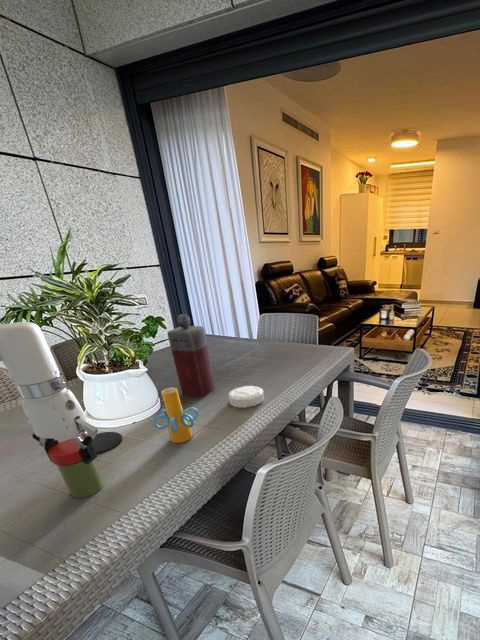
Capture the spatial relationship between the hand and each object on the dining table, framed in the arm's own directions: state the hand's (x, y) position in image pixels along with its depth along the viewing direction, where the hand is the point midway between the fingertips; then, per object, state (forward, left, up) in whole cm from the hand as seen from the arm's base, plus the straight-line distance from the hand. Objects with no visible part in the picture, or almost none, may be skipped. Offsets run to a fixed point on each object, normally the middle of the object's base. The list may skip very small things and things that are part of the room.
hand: (74, 459), depth 79 cm
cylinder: (+6, +26, -9) cm, 28 cm away
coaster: (-15, +16, -8) cm, 24 cm away
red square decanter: (-12, +56, -9) cm, 58 cm away
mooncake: (+11, +54, -9) cm, 56 cm away
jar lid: (0, 0, +3) cm, 3 cm away
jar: (0, 0, -8) cm, 8 cm away
